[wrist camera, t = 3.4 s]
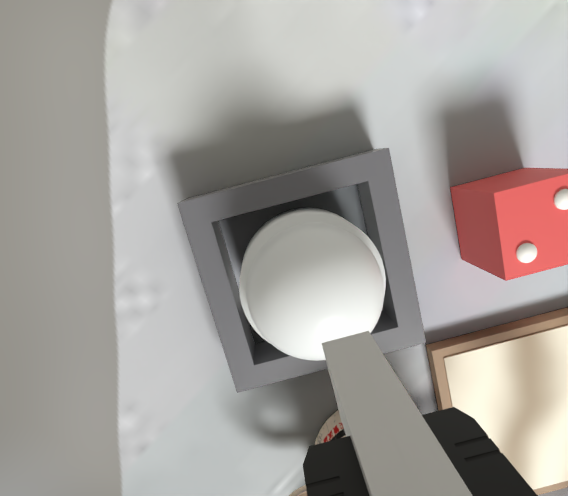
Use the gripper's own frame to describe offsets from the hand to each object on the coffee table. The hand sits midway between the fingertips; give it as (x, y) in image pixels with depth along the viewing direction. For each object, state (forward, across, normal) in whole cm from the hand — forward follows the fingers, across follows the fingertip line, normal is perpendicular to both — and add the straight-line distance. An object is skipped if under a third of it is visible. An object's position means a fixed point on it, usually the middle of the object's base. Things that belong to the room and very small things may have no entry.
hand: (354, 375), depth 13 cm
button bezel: (+15, 0, 0) cm, 15 cm away
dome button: (+13, 0, 0) cm, 13 cm away
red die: (+15, -13, 0) cm, 19 cm away
